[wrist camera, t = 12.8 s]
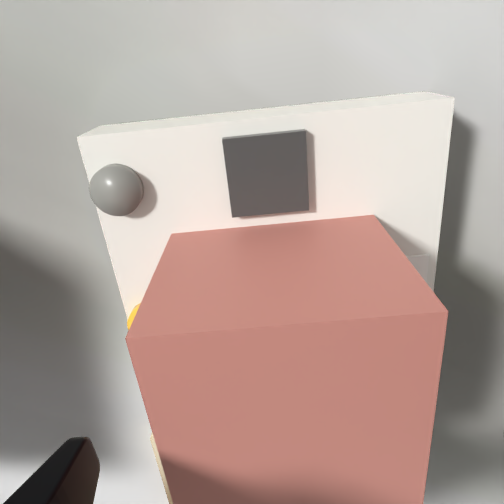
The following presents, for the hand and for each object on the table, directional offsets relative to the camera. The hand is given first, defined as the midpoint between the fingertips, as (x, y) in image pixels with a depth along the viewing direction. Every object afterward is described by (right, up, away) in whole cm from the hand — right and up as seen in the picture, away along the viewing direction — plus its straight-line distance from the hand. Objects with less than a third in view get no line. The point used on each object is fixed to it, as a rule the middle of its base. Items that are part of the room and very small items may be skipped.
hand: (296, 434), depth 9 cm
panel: (0, +3, +6) cm, 7 cm away
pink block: (0, +2, +5) cm, 5 cm away
